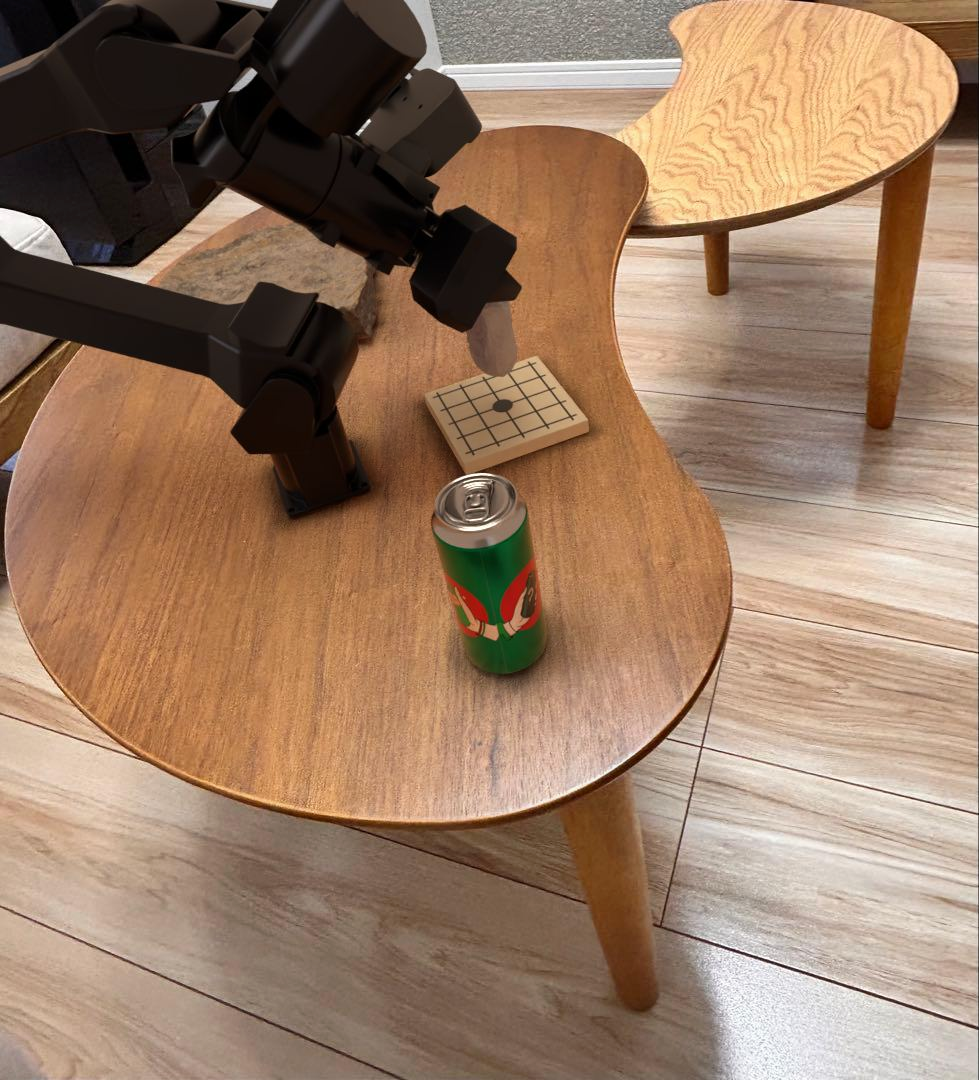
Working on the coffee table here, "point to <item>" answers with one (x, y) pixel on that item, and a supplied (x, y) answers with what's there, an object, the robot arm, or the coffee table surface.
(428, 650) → the coffee table surface
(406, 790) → the coffee table surface
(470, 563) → the soda can
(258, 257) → the stone
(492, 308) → the fossil
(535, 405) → the board
